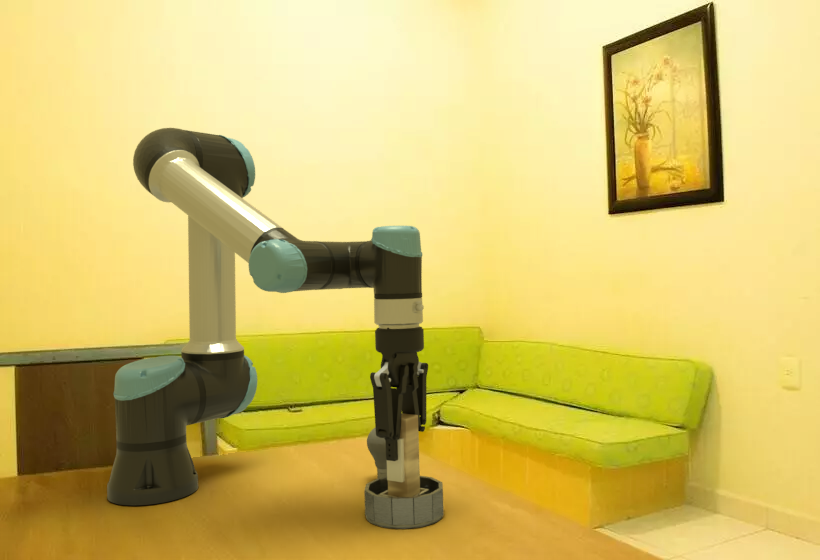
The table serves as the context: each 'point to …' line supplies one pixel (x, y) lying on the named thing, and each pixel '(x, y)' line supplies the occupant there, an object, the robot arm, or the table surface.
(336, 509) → the table surface
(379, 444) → the light bulb
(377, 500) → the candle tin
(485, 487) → the table surface
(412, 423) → the tan square post
